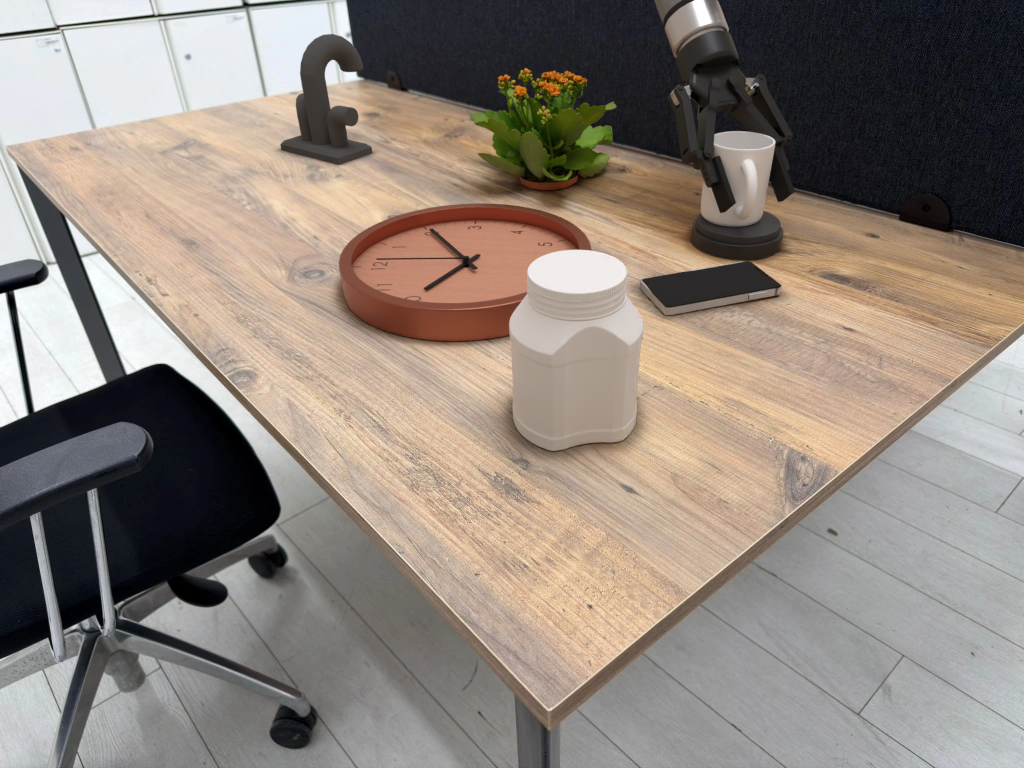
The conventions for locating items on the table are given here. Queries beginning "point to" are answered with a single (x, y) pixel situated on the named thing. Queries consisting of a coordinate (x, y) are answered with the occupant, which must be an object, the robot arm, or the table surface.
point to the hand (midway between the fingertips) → (757, 202)
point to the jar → (575, 351)
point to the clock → (450, 268)
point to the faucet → (325, 105)
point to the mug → (741, 177)
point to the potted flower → (546, 132)
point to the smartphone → (709, 287)
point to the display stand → (738, 238)
